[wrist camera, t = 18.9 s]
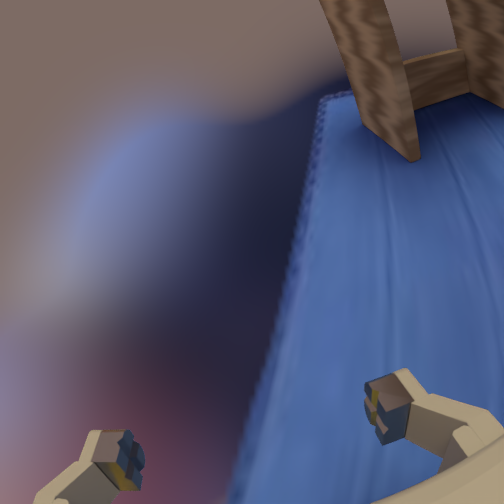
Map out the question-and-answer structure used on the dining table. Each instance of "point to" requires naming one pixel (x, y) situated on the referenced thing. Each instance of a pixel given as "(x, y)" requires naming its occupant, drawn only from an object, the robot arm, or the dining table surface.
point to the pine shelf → (416, 64)
